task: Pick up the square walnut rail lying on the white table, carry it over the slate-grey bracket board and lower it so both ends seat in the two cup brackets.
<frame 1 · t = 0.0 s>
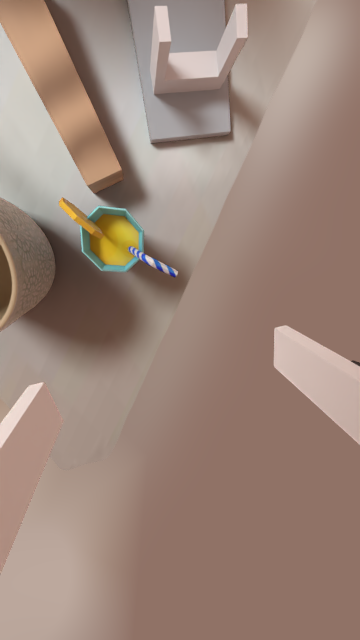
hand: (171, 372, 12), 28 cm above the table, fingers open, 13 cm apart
cup: (125, 243, 35), on the table
planter: (7, 256, 32), on the table
bracket board: (176, 12, 27), on the table
rail: (69, 106, 28), on the table
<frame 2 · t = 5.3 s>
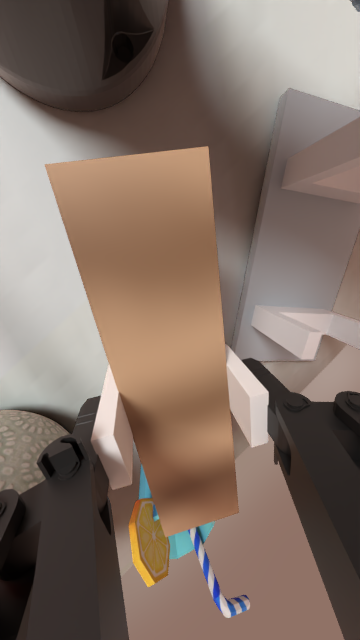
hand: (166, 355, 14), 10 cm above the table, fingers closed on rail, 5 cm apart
cup: (166, 438, 29), on the table
planter: (19, 445, 25), on the table
bracket board: (297, 255, 24), on the table
rail: (166, 355, 15), point 9 cm above the table, touching gripper
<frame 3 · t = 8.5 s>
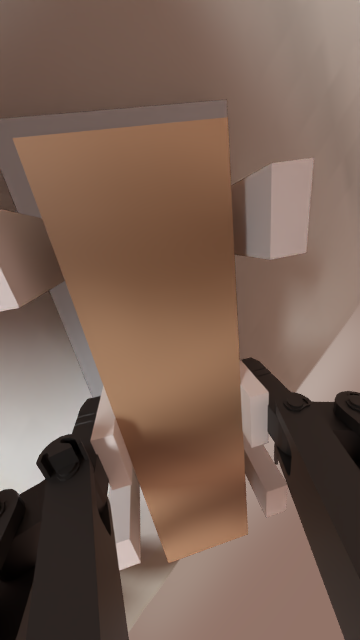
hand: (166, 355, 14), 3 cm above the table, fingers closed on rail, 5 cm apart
bracket board: (159, 332, 16), on the table
rail: (168, 364, 13), point 4 cm above the table, touching bracket board, gripper
when the fingers open (3 cm above the table, at t = 9.1 s): rail stays where it is, resting on bracket board.
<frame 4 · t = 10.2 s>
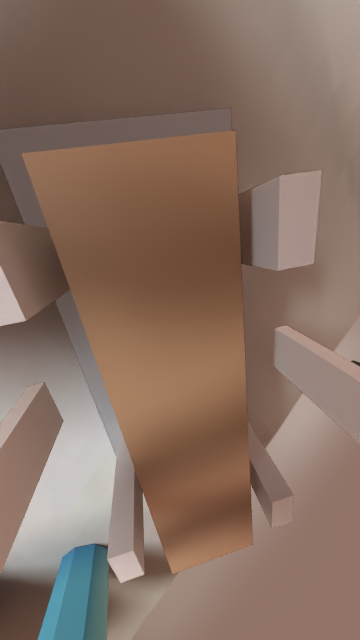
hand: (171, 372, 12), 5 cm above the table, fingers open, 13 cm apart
cup: (94, 555, 25), on the table
bracket board: (162, 338, 16), on the table
rail: (172, 371, 13), point 4 cm above the table, touching bracket board
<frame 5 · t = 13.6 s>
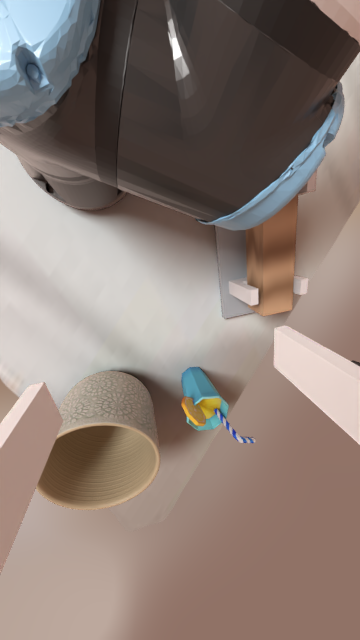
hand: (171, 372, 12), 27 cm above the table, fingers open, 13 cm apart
cup: (196, 377, 46), on the table
planter: (112, 394, 43), on the table
bracket board: (248, 242, 37), on the table
rail: (260, 246, 34), point 4 cm above the table, touching bracket board
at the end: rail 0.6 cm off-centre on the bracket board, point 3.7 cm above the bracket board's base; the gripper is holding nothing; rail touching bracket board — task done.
